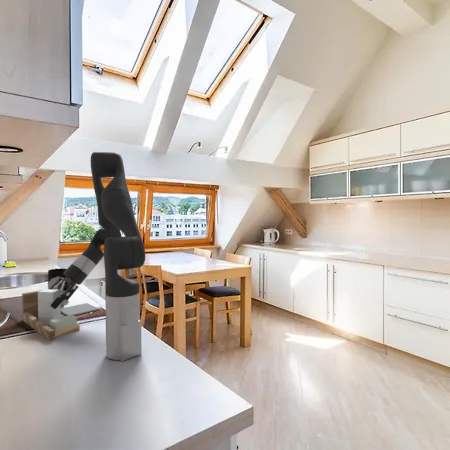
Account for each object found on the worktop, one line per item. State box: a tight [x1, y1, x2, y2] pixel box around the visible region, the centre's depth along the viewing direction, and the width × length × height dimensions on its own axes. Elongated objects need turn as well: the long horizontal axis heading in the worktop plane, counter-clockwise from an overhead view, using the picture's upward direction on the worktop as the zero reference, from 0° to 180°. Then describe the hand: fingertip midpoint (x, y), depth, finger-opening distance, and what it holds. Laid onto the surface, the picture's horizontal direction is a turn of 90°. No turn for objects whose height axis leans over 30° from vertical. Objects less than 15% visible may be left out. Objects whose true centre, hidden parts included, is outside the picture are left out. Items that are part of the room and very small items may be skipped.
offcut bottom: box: [53, 322, 81, 338], centre depth 106 cm, size 5×8×2 cm, turn 140°
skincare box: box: [37, 288, 62, 326], centre depth 114 cm, size 6×4×12 cm
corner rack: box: [21, 289, 55, 342], centre depth 112 cm, size 28×10×10 cm, turn 47°
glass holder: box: [47, 268, 70, 307], centre depth 141 cm, size 9×14×15 cm, turn 28°
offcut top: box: [49, 315, 78, 330], centre depth 106 cm, size 4×7×2 cm, turn 143°
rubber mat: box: [60, 302, 100, 317], centre depth 130 cm, size 12×12×1 cm
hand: (48, 305), depth 114 cm, fingers open, 8 cm apart
